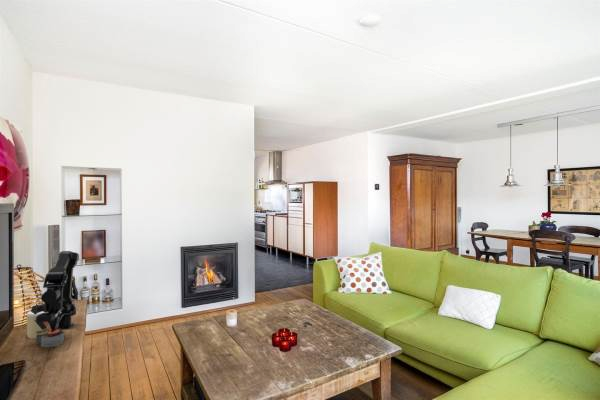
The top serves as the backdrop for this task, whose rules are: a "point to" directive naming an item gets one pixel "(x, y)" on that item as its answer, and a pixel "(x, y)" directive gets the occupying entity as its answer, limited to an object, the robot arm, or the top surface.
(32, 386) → the top surface
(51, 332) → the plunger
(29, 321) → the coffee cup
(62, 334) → the grey open tray
